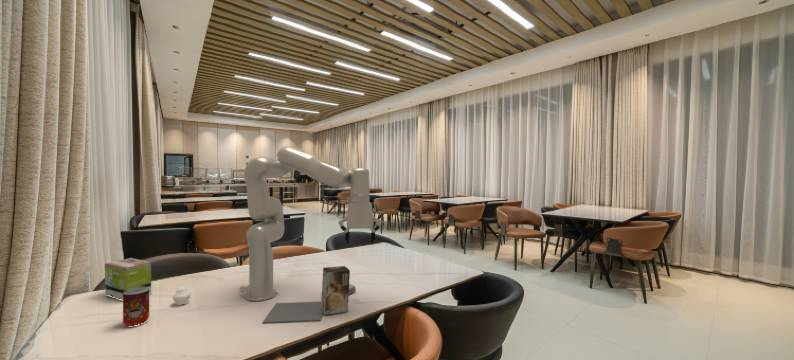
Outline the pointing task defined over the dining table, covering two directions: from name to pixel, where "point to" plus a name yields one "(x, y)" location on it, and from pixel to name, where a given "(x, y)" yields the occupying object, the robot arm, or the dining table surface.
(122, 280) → the tea box
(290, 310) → the rubber mat
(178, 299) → the muffin
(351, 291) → the stone block
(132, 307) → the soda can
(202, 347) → the dining table surface
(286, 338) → the dining table surface
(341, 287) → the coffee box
